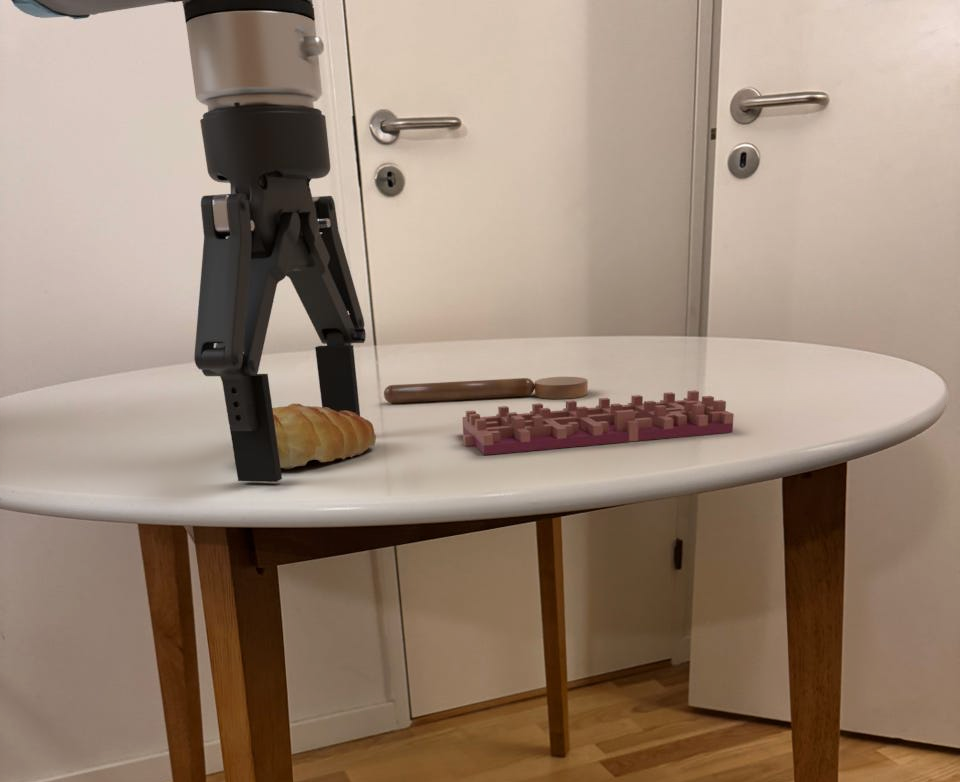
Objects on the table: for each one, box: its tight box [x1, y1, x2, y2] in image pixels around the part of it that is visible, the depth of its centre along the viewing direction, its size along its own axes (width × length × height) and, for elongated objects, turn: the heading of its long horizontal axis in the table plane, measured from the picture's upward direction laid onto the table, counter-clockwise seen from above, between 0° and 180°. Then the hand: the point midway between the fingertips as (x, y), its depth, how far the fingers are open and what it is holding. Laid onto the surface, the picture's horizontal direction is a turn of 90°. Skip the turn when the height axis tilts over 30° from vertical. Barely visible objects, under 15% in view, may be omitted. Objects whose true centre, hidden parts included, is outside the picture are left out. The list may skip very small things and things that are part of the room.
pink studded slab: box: [461, 390, 735, 456], centre depth 68 cm, size 7×19×2 cm, turn 102°
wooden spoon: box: [383, 376, 589, 404], centre depth 84 cm, size 18×5×2 cm, turn 93°
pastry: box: [272, 403, 377, 470], centre depth 65 cm, size 9×7×4 cm
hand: (305, 456), depth 65 cm, fingers open, 13 cm apart
